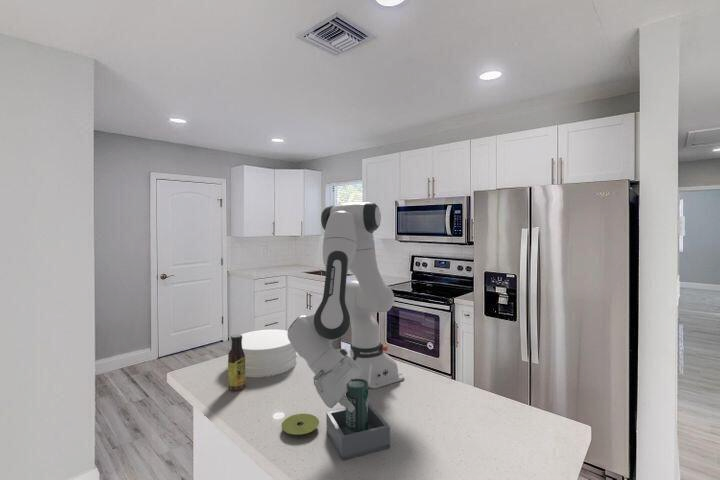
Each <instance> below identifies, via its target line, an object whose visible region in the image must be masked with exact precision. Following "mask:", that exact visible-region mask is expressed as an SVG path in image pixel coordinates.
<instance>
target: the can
mask: <svg viewBox="0 0 720 480" xmlns="http://www.w3.org/2000/svg"><path fill="white" fill-rule="evenodd" d="M350 381H352V382H351V383H350V384H349V382H350ZM350 381H349V382H348V383H347V388H348V392H347V393H346V394H345V396H346V397H347V400H349V401H350V402H351V403H352V402H354V404H355V405H356V408H355V410H354V411H352V412H350V411H349V410H348V409H347V408H346V407H345V408H346V435H348V434H352V433H356V432H360V431H365V430H368V403H369V387H368V382H367V381H366V380H364V379H358V378H357V379H356V378H355V379H351V380H350Z"/></svg>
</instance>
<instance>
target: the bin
mask: <svg viewBox="0 0 720 480" xmlns="http://www.w3.org/2000/svg"><path fill="white" fill-rule="evenodd" d="M325 413H326V415H325V416H326V421H325V422H326V423H325V424H326V433H327V435H328V437H329V439H330V441H331V443H332V445H333V447H334V449H335V451H336V452H337V453H338V455H339V457H340V459H341V461H342V462H343V461H347V460H350V459H353V458H354V459H355V458H358V457H361V456H364V455H368V454H371V453H376V452H380V451H383V450H387V449H390V448H391V426H390V425H389V424H388V422H386V420H385V419H384V418H383V417H382V416H381V415H380V413H379V412H378V411H377V410H376V409H375V408H374V407H373V405H372V404H371V403H370V402H368V430H365V431H360V432H356V433H352V434H348V435H346V407H344V408H340V409H336V410H331V411H326V412H325Z"/></svg>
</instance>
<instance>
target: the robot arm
mask: <svg viewBox="0 0 720 480" xmlns="http://www.w3.org/2000/svg"><path fill="white" fill-rule="evenodd" d="M381 221H382V214H381V210H380V208H379V206H378V204H376V202H375V203H374V202H371V201H370V202H369V201H366V202H348V203H343V204H338V205H329V206H326V207H325V208H324V209H323V210H322V212H321V216H320V223H321V226H322V229H323V230H324V234H323V239H322V240H323V241H322V261H323V264H324V268H325V278H324V285H323V294H322V299H321V302H320V304H319V306H318V307H317V309H316V311H315V313H312V314H305V315H300V316H298V317H296V319H295V320H293V322H292V323H291V324H290V326H289V327H288V330H287V331H288V333H287V336H288V339H289V341H290V343H291V344H292V346H293V347H294V349H295V350H296V351H297V355H298V356H300V357H301V358H303V359H304V361H306V363H307V366H308V367H309V369H310V370H311V371H312V372H313V374H314V376H313V385H314V387H315V391H316V392H317V394H318V396H319V397H320V398H321V400H322V402H323V403H324V404H325V406H326V407H328V408H329V409H333V408H334V407H335V406H337V404H340V406H343V407H344V408H347V409H348V410H349V411H350V412H352V411H354V410H355V408H356V405H355V404H354V402H352V403H351V402H350V401H349V400H347V397H346V393H347V392H348V388H347V383H348V382H349V381H350V380H351V379H355V378H356V379H357V378H358V379H364V380H366V381H367V382H368V389H374V390H375V389H379V388H382V387H384V386H388V385H391V384H394V383H397V382H400V381H404V379H405V376H404V373H403V372H402V371H401V370H400V369H399V367H398V364H397V362H396V361H395V359H394V358H392V357H391V356H390V355H389V354H388V353H386V352H388V350H389V347H388V345H385V344H383V343H381V342H380V326H379V322H378V320H376V319H375V318H374V316H373V314H372V313H386V312H389V311H390V310H391V309H392V307H393V305H394V302H395V295H394V292H393V290H392V289H391V287H390V286H388V284H386V282H385V281H384V279H383V277H382V275H381V273H380V271H379V267H378V263H377V256H376V255H377V254H376V245H375V238H374V232H375V231H377V230H378V228H379V227H380V225H381ZM349 271H350V272H351V273H352V274H353V275H354V276H355V278H356V279H355V280H353V279H352V280H347V276H348V273H349ZM371 312H372V313H371ZM349 328H350V331H351V333H350V335H351V343H350V349H349V352H348V350H347V349H346V348H341V349H334V348H333V347H332V345H331V342H333V341H335V340H337V339H339V338H341V339H342V337H343V336H344V335H345V334H346V333H347V332H348V330H349ZM351 382H352V381H350V382H349V384H350V383H351Z"/></svg>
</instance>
